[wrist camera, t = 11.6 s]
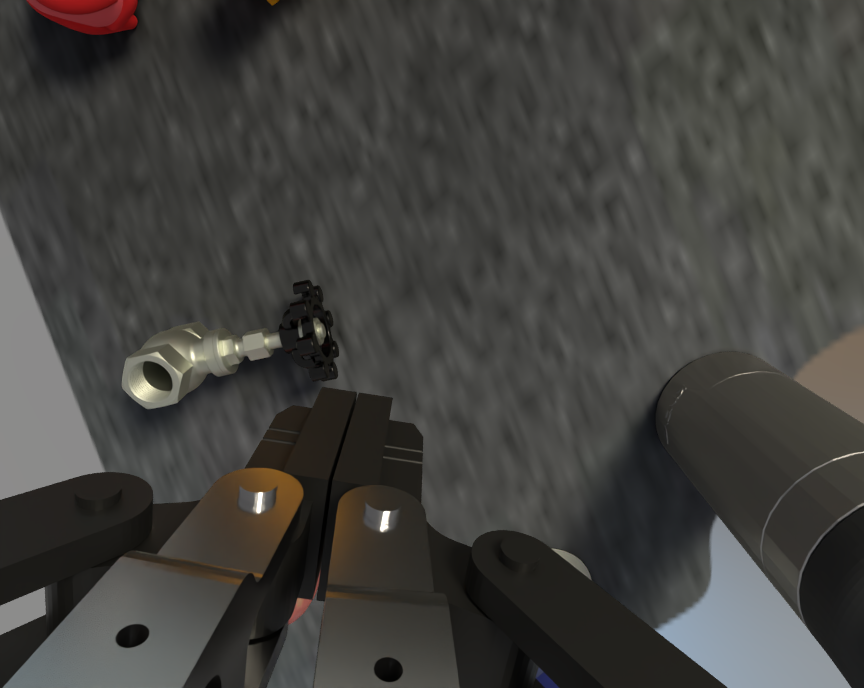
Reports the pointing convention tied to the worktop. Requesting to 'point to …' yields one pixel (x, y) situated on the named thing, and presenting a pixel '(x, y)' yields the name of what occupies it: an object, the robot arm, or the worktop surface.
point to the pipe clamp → (272, 1)
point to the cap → (89, 14)
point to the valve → (229, 351)
